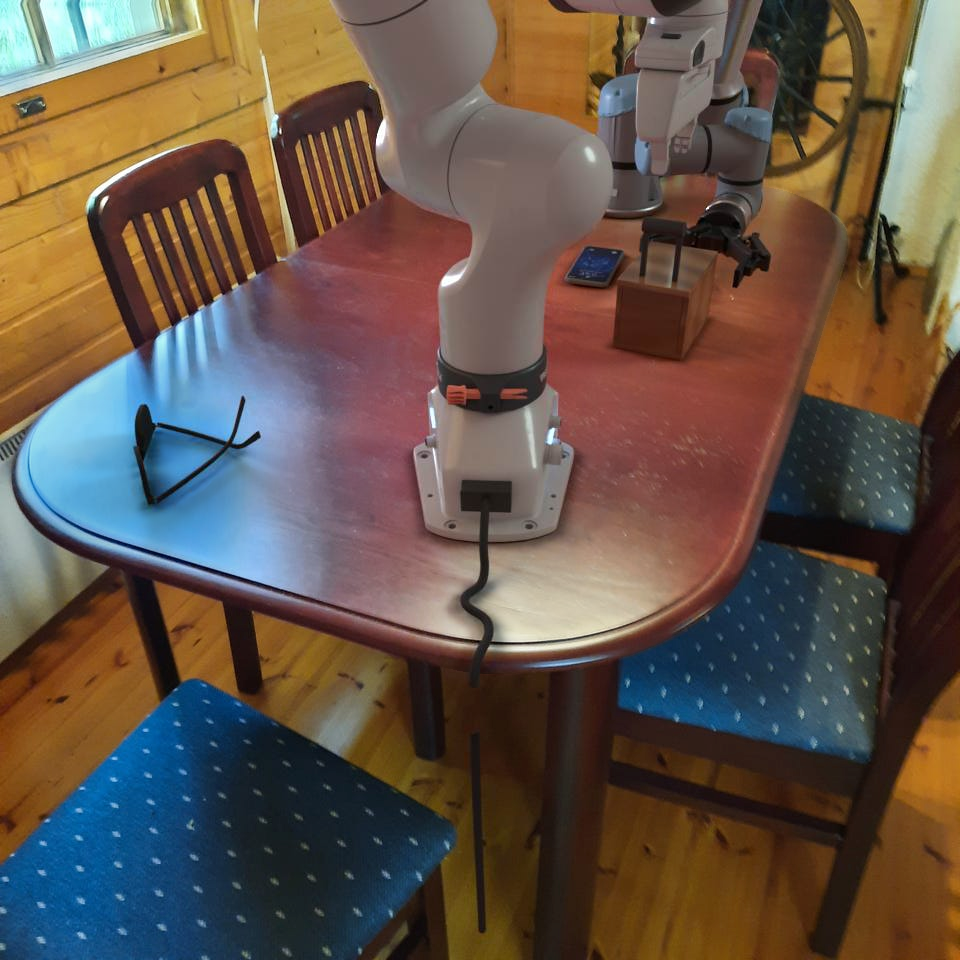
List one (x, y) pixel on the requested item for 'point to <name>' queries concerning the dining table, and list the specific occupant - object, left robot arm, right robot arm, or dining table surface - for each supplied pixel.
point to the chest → (661, 319)
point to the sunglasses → (147, 427)
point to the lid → (667, 261)
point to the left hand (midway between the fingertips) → (671, 162)
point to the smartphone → (595, 266)
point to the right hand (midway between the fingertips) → (689, 271)
